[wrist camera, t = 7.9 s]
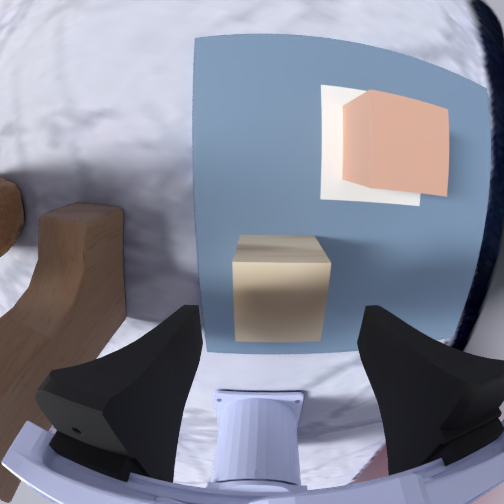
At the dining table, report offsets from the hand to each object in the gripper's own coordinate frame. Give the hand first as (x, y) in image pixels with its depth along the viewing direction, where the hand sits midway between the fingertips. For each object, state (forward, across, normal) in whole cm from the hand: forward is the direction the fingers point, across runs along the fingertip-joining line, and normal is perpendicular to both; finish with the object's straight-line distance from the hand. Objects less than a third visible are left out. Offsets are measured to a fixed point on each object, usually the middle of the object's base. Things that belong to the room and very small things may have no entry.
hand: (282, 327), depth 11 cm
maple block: (+6, 0, 0) cm, 6 cm away
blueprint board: (+7, -6, -4) cm, 10 cm away
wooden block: (+7, +13, 0) cm, 15 cm away
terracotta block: (+6, -6, -8) cm, 12 cm away
